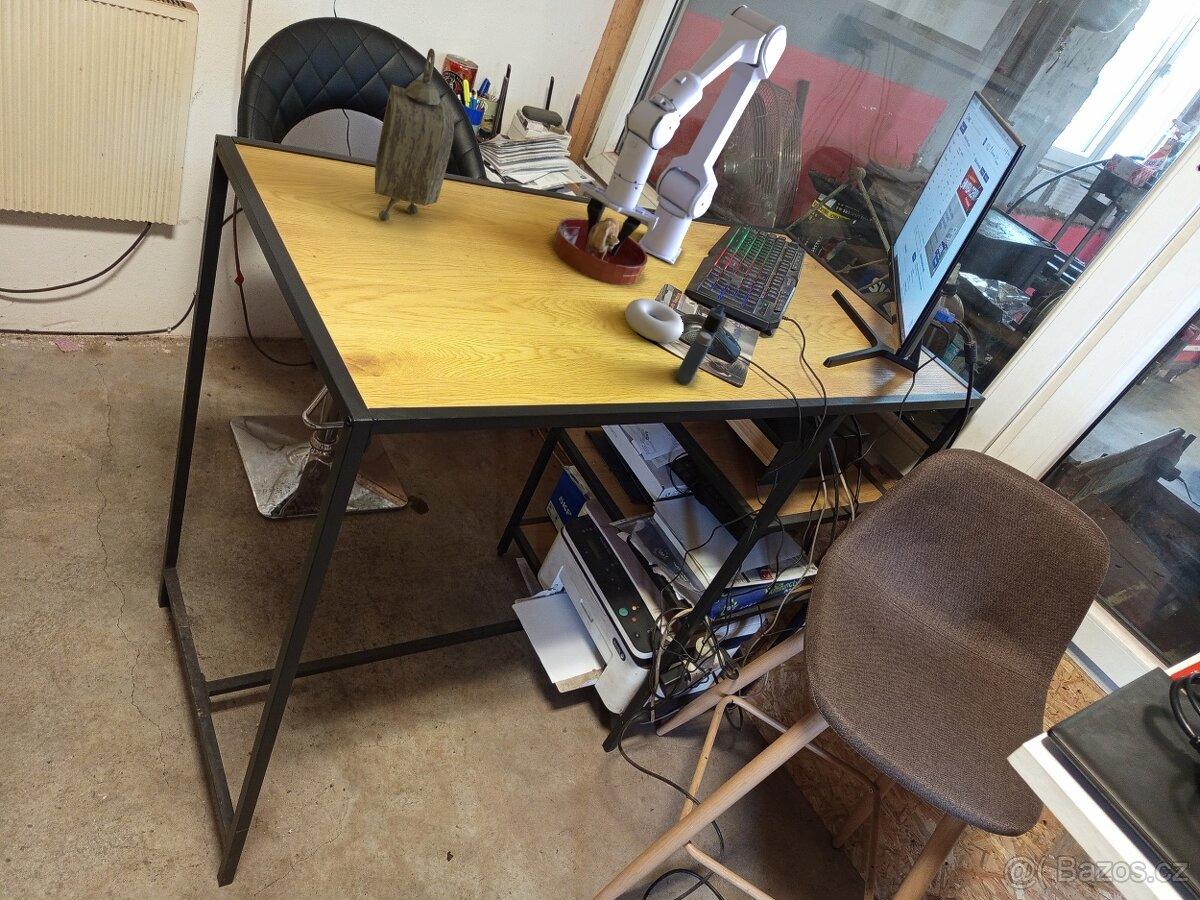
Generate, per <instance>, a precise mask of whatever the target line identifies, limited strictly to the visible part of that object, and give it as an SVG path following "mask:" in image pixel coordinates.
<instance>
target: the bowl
mask: <svg viewBox="0 0 1200 900" xmlns="http://www.w3.org/2000/svg"><path fill="white" fill-rule="evenodd" d="M620 231H621V230H619V233H618V236H617V239H618V237H619V234H620ZM587 236H588V218H583V217H567V218H564V219H562V220H560V221H559V222H558V224H557V227H556V229H555V232H554V235H553V238H552V242H551V247H552V250H553V252H554V254H555V255H556V256H557V257H558V258H559V259H560V260H561V261H562V262H563V263H564V264H566V265H567V266H569V267H570V268H572V269H573V270H574V271H577V272H579V273H580V274H582V275H585V276H586V277H589V278H591V279H594V280H596V281H600V282H602V283H607V284H611V285H617V286H626V285H627V286H628V285H633V284H636V283H637V282H638V281H640V278H641V277H642V275H643V272H644V270H645V268H646V266H647V263H648V261H649V259H648V254H647V252H646V251H644V249H643V248H642V247H641V246H640V245H639V244H638V243H639V242H637V241H636V240H634V239H633V238H632V237H630V236H629V237H628V238H627V239H626V240H625V241H624V242H623V243H622V245H621V246H620V248H619V249H618V251H617V253H616V255H615V256H614V257H613V256H611V255H610V254H611V252H609V251H608V248H609V246H608V248H607V251H606V254H605V256H604V257H603V260H601V259H598V256H599V254H600V253H598V252H595V251H593V250H591V252H590V255H589V254H587V253H585V251H586V246H587V244H586V241H587Z"/></svg>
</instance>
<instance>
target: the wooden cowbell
mask: <svg viewBox="0 0 1200 900" xmlns="http://www.w3.org/2000/svg"><path fill="white" fill-rule="evenodd" d="M435 61H436V53H435V50H434V48H429V49H428V51H427V55H426V60H425V66H424V70H423V76H422V79H415V80H413V81H412V82H410V83H409V84H408V85H407V86H406V88H404V87H401V86H398V85H395V84H391V85H390V88H389V93H388V97H387V101H386V107H385V111H384V116H383V121H382V127H381V131H380V137H379V142H378V146H377V147H378V148H377V151H376V152H377V153H376V159H375V166H374V167H375V168H374V191H375V195H381V196H384V197H388V198H390V199H389V202H388V204H387V205H386V207H385V210H384V209H383V210H380V212H378V219H379V220H380V221H382V222H387V221H388V220H389V219H390V210H392V209H393V206H394V205H395V204H397V203H398V202H399V201H403V202H407V203H410V204H409V205H408V206H407V211H408V213H409V214H410V215H416V214H417V213H418V211H419V209H418V206H417V205H419V206H423V207H425V206H429V205H433V204H435V203H438V201H439V197H440V194H441V191H442V187H443V184H444V179H445V175H446V171H447V168H448V164H449V159H450V156H451V151H452V146H453V142H454V137H455V124H454V123H455V122H454V118H453V114H452V111H451V109H450V108H449V107H448V106H447V105H446V103H444V102H443V101H442V100H441V97H440V93H439V91H438V89H437V88H436V86H435V85H434V84H432V83H431V80H432V78H433V72H434V68H435Z"/></svg>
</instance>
